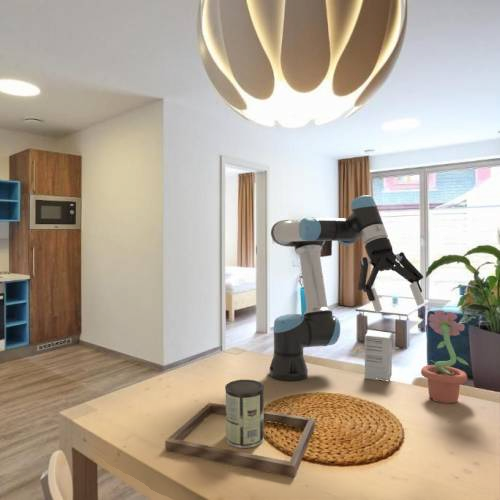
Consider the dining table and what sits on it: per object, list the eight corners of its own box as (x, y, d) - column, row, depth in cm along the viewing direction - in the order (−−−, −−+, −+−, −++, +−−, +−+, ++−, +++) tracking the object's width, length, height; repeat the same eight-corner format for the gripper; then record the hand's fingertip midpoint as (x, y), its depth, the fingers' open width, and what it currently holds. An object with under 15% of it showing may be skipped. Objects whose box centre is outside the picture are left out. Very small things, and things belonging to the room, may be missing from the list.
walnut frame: (165, 450, 97) (165, 440, 97) (209, 410, 120) (209, 402, 120) (294, 477, 86) (294, 466, 86) (314, 427, 109) (314, 418, 109)
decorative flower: (476, 400, 128) (477, 309, 128) (463, 412, 119) (463, 315, 118) (430, 388, 139) (430, 304, 138) (414, 399, 129) (414, 309, 129)
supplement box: (368, 371, 158) (368, 330, 157) (392, 374, 154) (392, 332, 153) (364, 378, 149) (364, 335, 149) (389, 382, 145) (389, 337, 145)
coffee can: (242, 425, 110) (242, 376, 110) (271, 437, 104) (271, 385, 103) (217, 439, 102) (217, 386, 102) (246, 453, 96) (246, 396, 96)
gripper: (343, 241, 113) (366, 310, 105) (418, 231, 119) (445, 297, 110) (334, 251, 120) (355, 317, 112) (405, 242, 126) (430, 305, 117)
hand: (400, 307), depth 111 cm, fingers open, 13 cm apart
